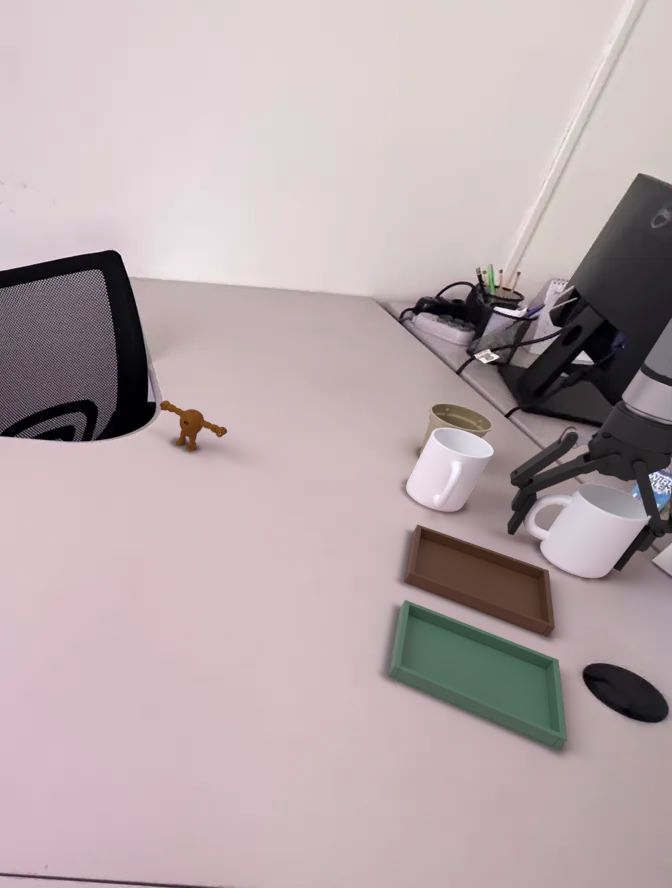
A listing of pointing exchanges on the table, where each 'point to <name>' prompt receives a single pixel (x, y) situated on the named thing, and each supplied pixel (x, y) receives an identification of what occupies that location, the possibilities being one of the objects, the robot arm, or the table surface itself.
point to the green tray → (480, 673)
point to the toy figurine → (191, 425)
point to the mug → (588, 528)
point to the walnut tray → (481, 580)
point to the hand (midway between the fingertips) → (561, 546)
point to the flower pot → (456, 420)
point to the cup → (448, 469)
